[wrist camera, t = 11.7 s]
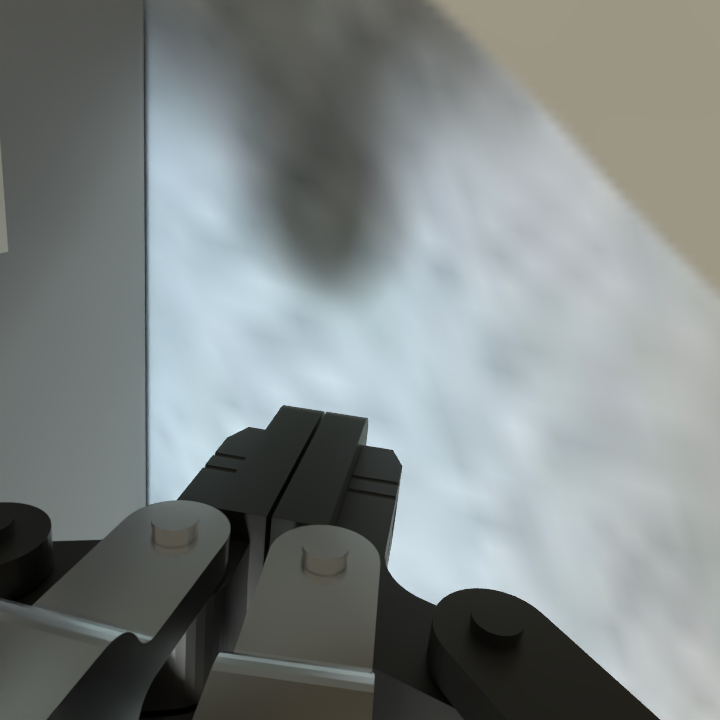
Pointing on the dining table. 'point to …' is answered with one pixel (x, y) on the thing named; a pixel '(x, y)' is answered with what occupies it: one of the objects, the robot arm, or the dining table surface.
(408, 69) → the dining table surface
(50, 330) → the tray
